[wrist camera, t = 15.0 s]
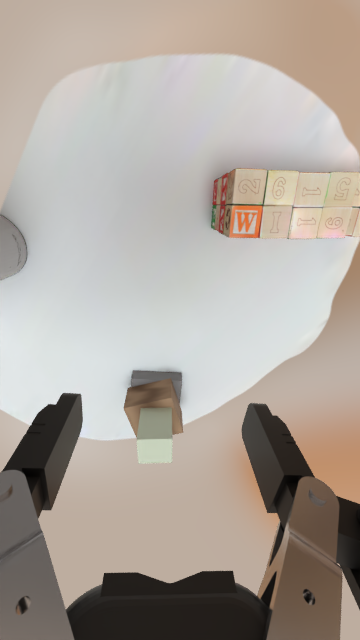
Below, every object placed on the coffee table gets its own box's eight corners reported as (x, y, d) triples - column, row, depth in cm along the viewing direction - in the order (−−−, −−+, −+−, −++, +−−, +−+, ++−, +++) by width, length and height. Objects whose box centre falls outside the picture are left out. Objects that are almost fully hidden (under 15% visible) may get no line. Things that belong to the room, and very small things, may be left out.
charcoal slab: (132, 405, 50) (130, 416, 48) (133, 368, 47) (131, 378, 44) (177, 407, 51) (177, 418, 48) (181, 370, 47) (182, 380, 45)
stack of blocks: (362, 184, 35) (454, 173, 24) (349, 231, 38) (426, 241, 27) (212, 180, 34) (235, 167, 23) (209, 228, 37) (228, 238, 25)
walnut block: (141, 419, 48) (138, 442, 43) (128, 387, 45) (123, 408, 40) (181, 410, 48) (183, 432, 43) (171, 378, 44) (171, 397, 40)
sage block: (142, 430, 42) (138, 463, 37) (140, 408, 40) (136, 439, 35) (171, 429, 43) (172, 462, 37) (171, 407, 41) (172, 438, 35)
